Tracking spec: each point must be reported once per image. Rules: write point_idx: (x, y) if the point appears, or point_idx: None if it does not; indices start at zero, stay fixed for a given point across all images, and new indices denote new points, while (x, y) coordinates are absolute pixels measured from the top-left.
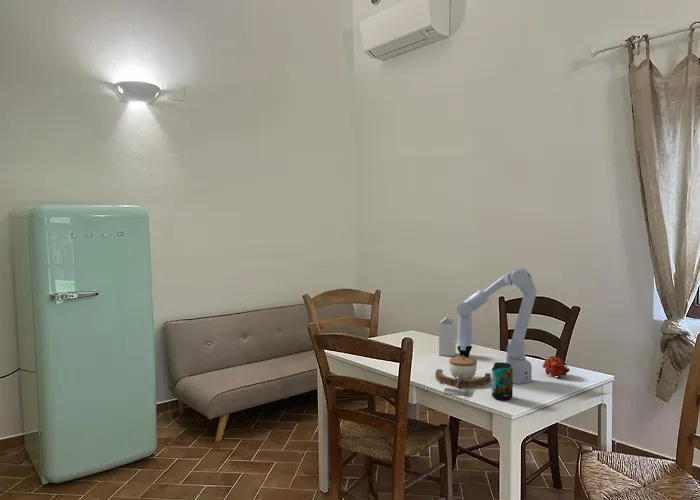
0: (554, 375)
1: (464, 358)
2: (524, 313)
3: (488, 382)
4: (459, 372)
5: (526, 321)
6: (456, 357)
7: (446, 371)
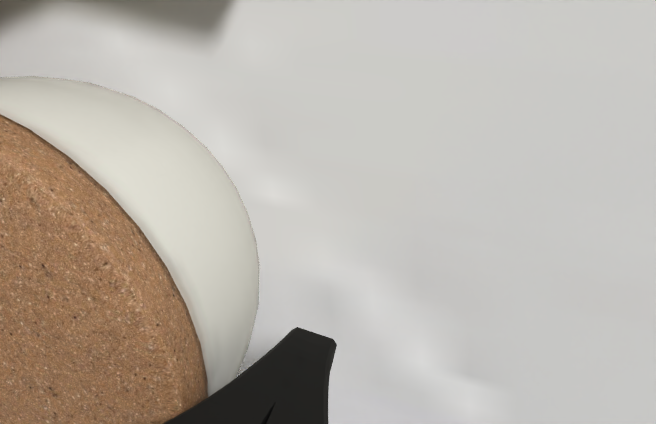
0: None
1: (13, 412)
2: None
3: None
4: None
5: None
6: (37, 288)
7: (514, 36)
